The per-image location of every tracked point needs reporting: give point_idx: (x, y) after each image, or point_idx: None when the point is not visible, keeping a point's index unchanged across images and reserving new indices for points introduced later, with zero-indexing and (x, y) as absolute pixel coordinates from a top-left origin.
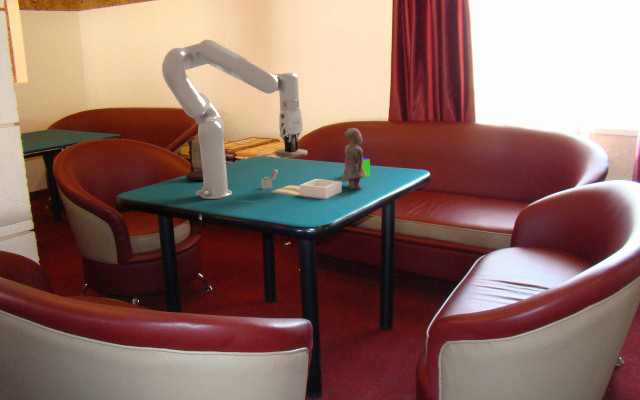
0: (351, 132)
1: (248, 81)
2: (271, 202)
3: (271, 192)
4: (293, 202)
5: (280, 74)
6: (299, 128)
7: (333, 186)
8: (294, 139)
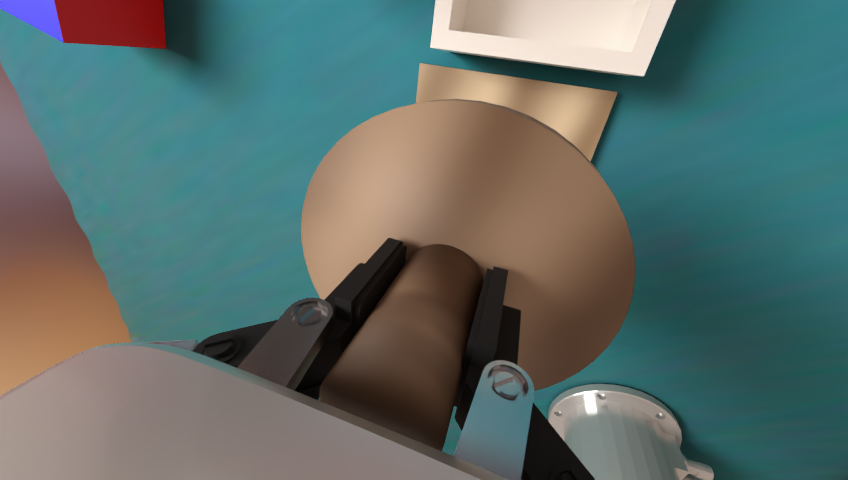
0: None
1: None
2: (761, 189)
3: None
4: (777, 51)
5: None
6: (110, 460)
7: None
8: (393, 339)
